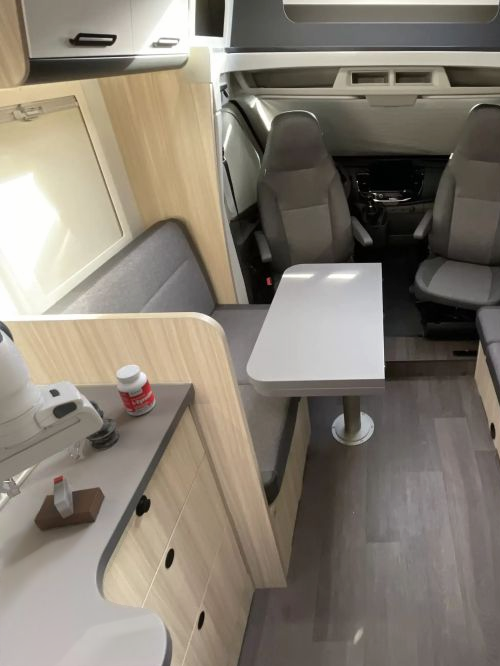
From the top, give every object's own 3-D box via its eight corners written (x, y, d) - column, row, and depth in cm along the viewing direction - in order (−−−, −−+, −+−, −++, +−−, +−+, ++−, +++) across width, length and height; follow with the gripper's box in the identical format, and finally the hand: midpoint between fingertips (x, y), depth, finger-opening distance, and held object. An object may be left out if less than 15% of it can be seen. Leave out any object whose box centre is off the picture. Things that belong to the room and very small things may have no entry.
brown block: (40, 530, 79) (33, 521, 77) (53, 505, 83) (46, 495, 81) (95, 521, 80) (89, 511, 78) (104, 496, 84) (99, 486, 83)
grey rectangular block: (73, 513, 78) (64, 499, 76) (63, 518, 77) (53, 503, 75) (71, 488, 82) (63, 473, 80) (61, 493, 82) (52, 478, 79)
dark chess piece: (104, 427, 99) (85, 388, 93) (127, 431, 98) (109, 391, 92) (83, 449, 94) (62, 408, 88) (107, 453, 93) (87, 412, 87)
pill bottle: (137, 420, 100) (122, 384, 95) (121, 410, 103) (106, 374, 98) (161, 403, 105) (148, 367, 99) (146, 394, 108) (132, 358, 102)
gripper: (-72, 472, 60) (-25, 531, 67) (92, 393, 73) (117, 449, 80) (-79, 447, 64) (-34, 505, 71) (79, 376, 77) (103, 431, 84)
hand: (47, 475), depth 76 cm, fingers open, 8 cm apart
